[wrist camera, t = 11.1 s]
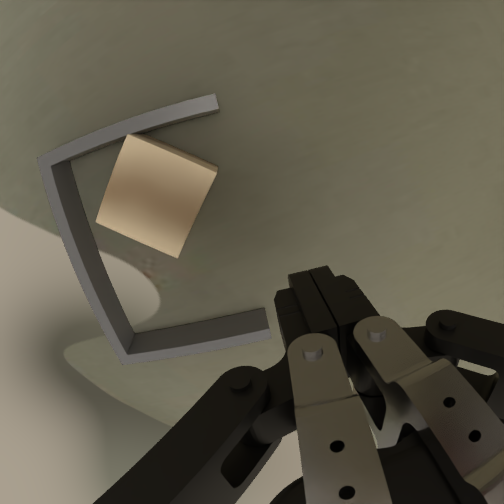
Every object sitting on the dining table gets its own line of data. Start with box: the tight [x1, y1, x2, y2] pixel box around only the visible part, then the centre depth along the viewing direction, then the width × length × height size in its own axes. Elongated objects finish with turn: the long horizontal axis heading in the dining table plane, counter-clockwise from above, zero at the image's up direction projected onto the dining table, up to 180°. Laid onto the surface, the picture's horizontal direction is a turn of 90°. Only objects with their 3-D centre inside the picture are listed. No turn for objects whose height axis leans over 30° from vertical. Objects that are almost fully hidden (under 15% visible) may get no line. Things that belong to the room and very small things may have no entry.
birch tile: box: [96, 134, 218, 258], centre depth 20 cm, size 6×6×4 cm
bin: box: [37, 94, 271, 365], centre depth 21 cm, size 18×13×3 cm
